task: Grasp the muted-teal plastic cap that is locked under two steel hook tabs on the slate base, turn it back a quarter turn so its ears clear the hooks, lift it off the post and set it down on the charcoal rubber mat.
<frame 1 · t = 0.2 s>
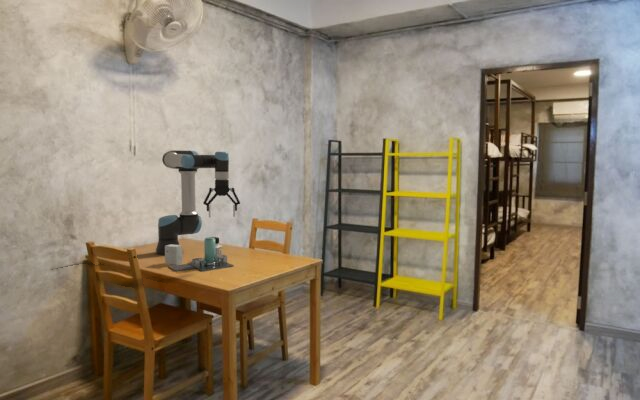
hand: (221, 216, 257), 27 cm above the table, fingers open, 13 cm apart
mat: (181, 268, 250), on the table
small box: (173, 263, 260), on the table
cap: (210, 262, 256), point 2 cm above the table, touching bayonet base
container: (213, 258, 274), on the table
bayonet base: (210, 265, 257), on the table
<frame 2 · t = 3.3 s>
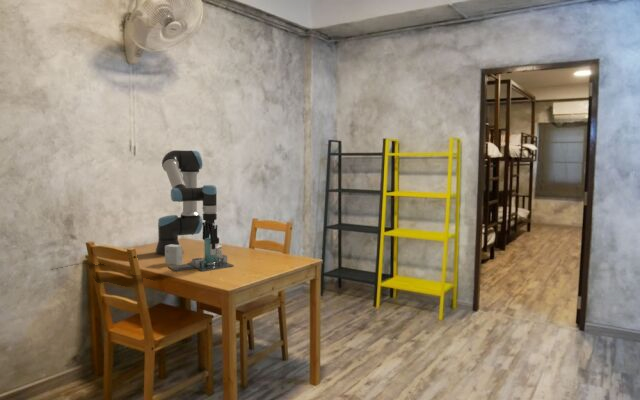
hand: (210, 253, 256), 7 cm above the table, fingers closed on cap, 6 cm apart
cap: (210, 262, 256), point 2 cm above the table, touching bayonet base, gripper
everything else where it was.
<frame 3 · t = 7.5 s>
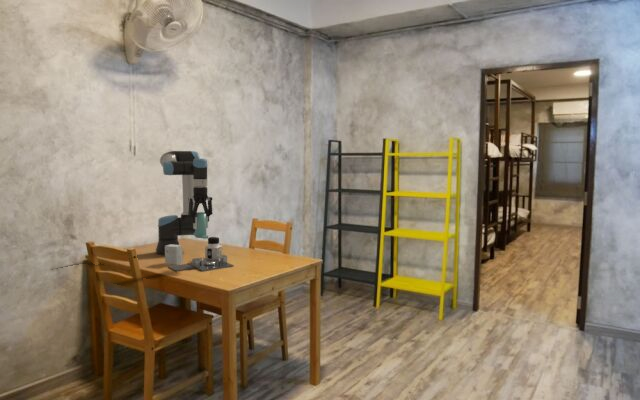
hand: (200, 228, 253), 22 cm above the table, fingers closed on cap, 6 cm apart
cap: (200, 236, 253), point 17 cm above the table, touching gripper
everything else where it was.
when the fingers open (7 cm above the table, at t = 11.6 s): cap drops 1 cm, resting on mat.
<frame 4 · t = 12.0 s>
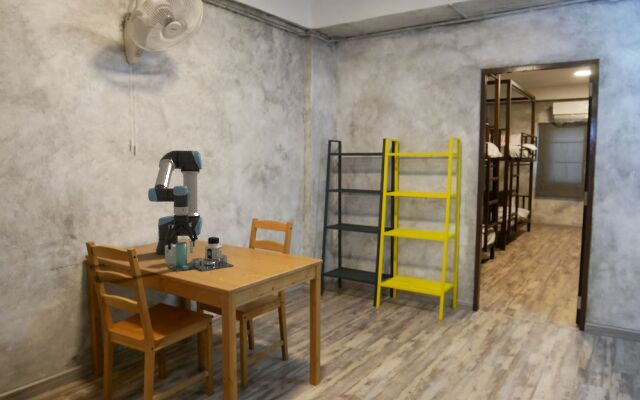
hand: (181, 254, 249), 8 cm above the table, fingers open, 11 cm apart
cap: (181, 267, 250), point 1 cm above the table, touching mat
everything else where it was.
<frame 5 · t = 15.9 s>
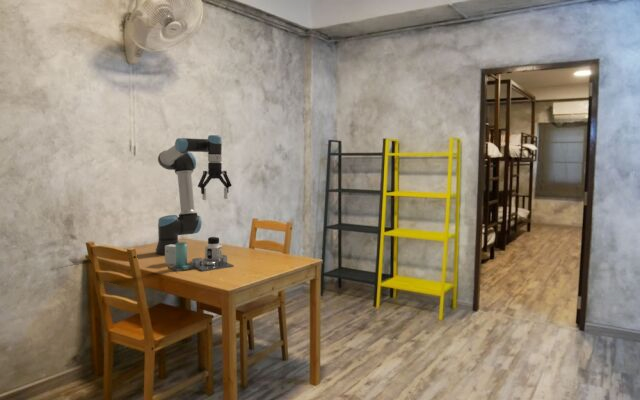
hand: (215, 199, 263), 37 cm above the table, fingers open, 13 cm apart
nothing on the table moved.
at the end: cap inside the target area on the mat (0.0 cm from its centre), point 0.6 cm above the mat's base; cap tilted 0°; the gripper is holding nothing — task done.
